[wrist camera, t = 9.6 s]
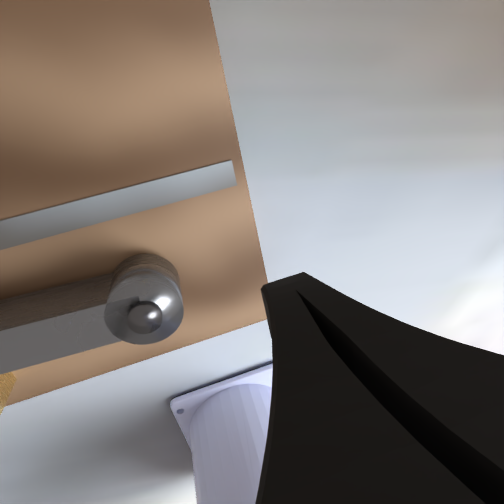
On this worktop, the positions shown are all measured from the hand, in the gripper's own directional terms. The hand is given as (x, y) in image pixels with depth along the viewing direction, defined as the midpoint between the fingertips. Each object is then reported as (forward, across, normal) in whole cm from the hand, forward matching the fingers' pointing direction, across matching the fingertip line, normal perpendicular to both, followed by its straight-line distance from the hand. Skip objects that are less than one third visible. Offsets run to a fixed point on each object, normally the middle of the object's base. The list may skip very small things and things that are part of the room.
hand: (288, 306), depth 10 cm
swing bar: (+7, +11, +2) cm, 14 cm away
